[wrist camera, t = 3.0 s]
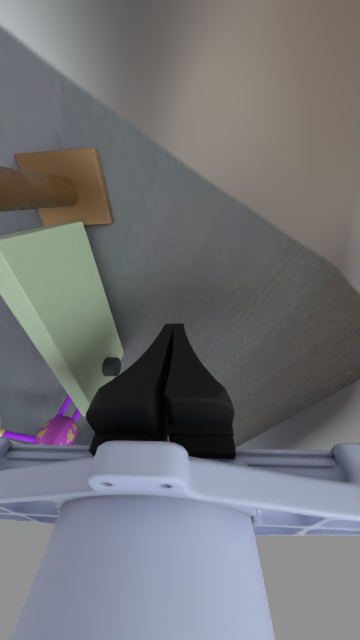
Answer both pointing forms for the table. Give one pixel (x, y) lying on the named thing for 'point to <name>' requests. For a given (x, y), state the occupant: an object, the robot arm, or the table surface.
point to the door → (62, 306)
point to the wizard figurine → (52, 429)
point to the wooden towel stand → (57, 187)
